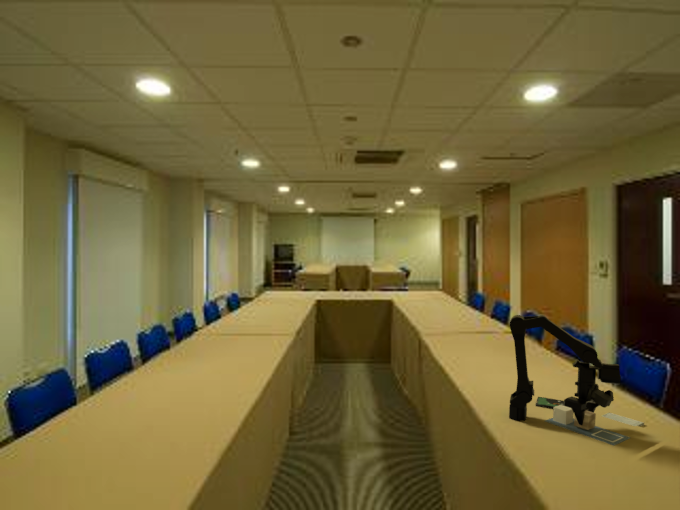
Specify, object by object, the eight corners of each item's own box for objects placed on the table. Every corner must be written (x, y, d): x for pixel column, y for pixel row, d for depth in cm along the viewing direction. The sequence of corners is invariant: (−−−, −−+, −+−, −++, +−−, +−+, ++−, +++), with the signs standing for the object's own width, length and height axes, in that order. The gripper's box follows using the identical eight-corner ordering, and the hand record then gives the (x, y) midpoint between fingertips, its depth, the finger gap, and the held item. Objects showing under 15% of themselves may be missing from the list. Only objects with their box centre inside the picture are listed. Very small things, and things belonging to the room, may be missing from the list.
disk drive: (576, 409, 196) (537, 402, 203) (576, 402, 196) (537, 395, 203) (575, 417, 187) (535, 409, 194) (576, 410, 187) (535, 402, 194)
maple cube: (587, 430, 168) (588, 416, 168) (574, 425, 172) (574, 411, 172) (595, 427, 171) (595, 413, 171) (581, 422, 175) (581, 409, 175)
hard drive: (599, 416, 184) (634, 426, 174) (609, 412, 189) (644, 421, 179) (599, 420, 184) (634, 431, 174) (609, 416, 189) (644, 426, 179)
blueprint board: (613, 448, 157) (614, 445, 157) (543, 423, 178) (543, 420, 178) (630, 440, 164) (630, 437, 164) (561, 417, 185) (561, 414, 185)
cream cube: (565, 424, 175) (566, 411, 174) (552, 420, 179) (553, 407, 178) (573, 422, 177) (573, 408, 177) (560, 417, 182) (560, 404, 181)
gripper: (596, 390, 159) (594, 436, 159) (622, 382, 170) (620, 425, 170) (564, 382, 168) (562, 425, 169) (591, 374, 179) (589, 415, 179)
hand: (584, 423), depth 171 cm, fingers closed on maple cube, 5 cm apart
